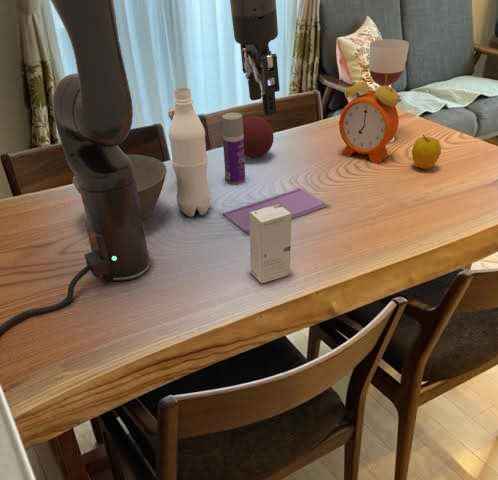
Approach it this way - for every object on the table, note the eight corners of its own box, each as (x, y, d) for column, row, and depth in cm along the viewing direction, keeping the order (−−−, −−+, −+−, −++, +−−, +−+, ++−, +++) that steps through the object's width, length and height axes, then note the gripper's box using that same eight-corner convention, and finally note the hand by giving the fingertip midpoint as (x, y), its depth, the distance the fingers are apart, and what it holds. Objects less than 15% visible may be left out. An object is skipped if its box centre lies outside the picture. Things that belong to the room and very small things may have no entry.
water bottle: (194, 200, 120) (182, 81, 104) (218, 209, 116) (209, 87, 100) (171, 212, 116) (154, 91, 100) (195, 222, 112) (182, 98, 96)
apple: (404, 164, 131) (409, 132, 126) (428, 161, 132) (434, 128, 127) (417, 175, 126) (423, 141, 121) (442, 171, 127) (449, 138, 122)
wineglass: (401, 134, 146) (414, 40, 132) (387, 146, 140) (400, 50, 125) (369, 128, 150) (379, 37, 136) (354, 140, 144) (363, 46, 129)
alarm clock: (335, 154, 137) (341, 70, 125) (347, 146, 141) (354, 64, 128) (383, 165, 131) (394, 78, 118) (394, 156, 135) (406, 71, 122)
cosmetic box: (261, 284, 94) (260, 223, 86) (249, 272, 97) (247, 211, 89) (291, 274, 96) (293, 213, 89) (278, 262, 99) (279, 202, 92)
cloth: (247, 234, 108) (247, 232, 107) (222, 214, 114) (222, 213, 114) (326, 206, 116) (326, 205, 115) (298, 190, 122) (299, 188, 122)
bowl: (89, 200, 122) (79, 157, 115) (173, 194, 122) (167, 151, 116) (76, 243, 107) (64, 197, 101) (171, 235, 108) (165, 189, 102)
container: (243, 185, 125) (240, 119, 116) (223, 183, 126) (219, 119, 116) (247, 176, 129) (244, 112, 119) (228, 175, 129) (224, 111, 120)
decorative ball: (232, 151, 141) (229, 112, 134) (269, 147, 142) (269, 108, 136) (237, 166, 133) (235, 126, 127) (277, 162, 134) (277, 122, 128)
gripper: (221, 4, 94) (233, 99, 105) (244, 21, 84) (255, 124, 94) (261, -3, 95) (269, 91, 106) (289, 12, 85) (295, 114, 95)
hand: (262, 106), depth 100 cm, fingers open, 8 cm apart
